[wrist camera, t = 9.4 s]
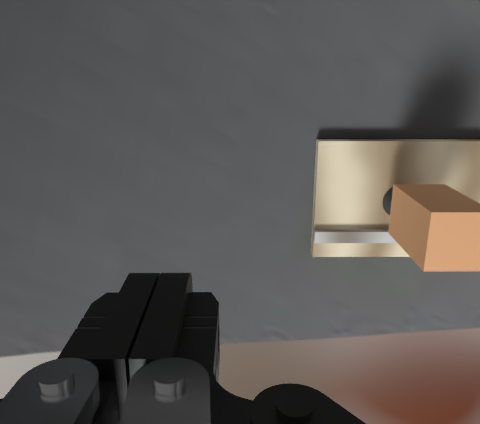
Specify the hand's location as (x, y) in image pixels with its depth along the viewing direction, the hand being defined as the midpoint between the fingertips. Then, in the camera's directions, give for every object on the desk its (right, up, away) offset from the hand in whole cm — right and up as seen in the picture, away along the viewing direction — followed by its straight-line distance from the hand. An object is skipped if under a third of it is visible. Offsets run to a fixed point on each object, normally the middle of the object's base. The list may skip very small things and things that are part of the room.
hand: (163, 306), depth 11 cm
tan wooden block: (+16, +3, +26) cm, 31 cm away
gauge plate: (+20, +4, +27) cm, 34 cm away
